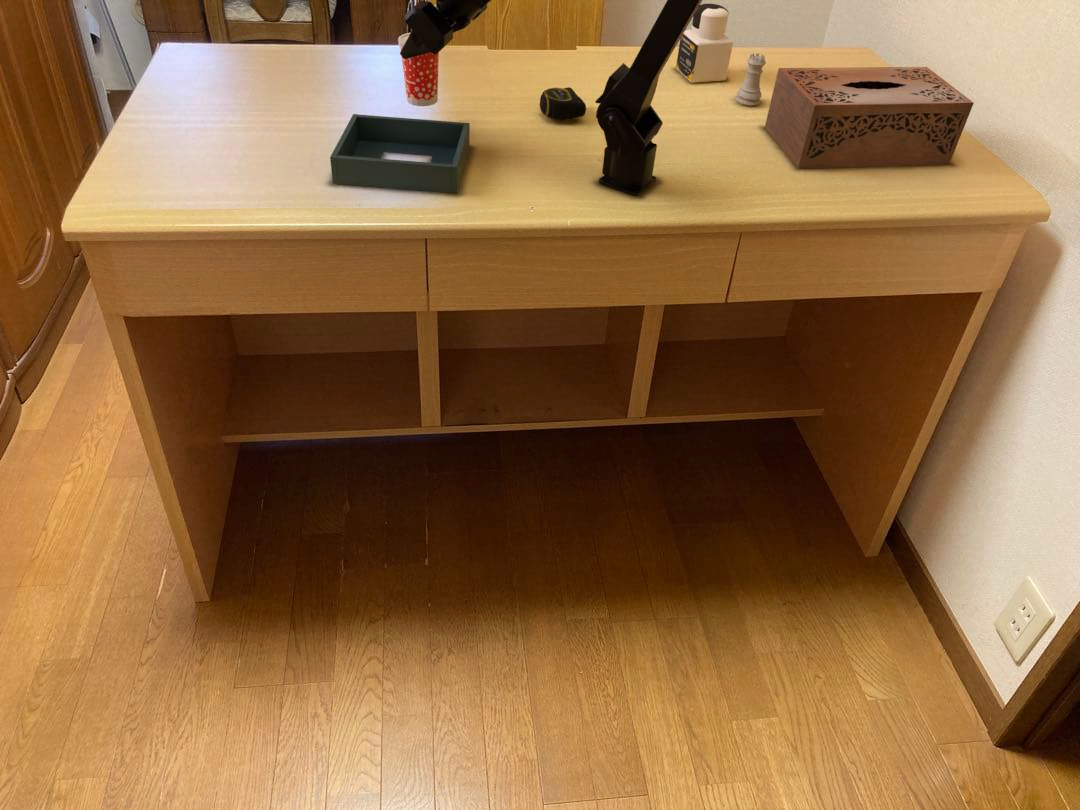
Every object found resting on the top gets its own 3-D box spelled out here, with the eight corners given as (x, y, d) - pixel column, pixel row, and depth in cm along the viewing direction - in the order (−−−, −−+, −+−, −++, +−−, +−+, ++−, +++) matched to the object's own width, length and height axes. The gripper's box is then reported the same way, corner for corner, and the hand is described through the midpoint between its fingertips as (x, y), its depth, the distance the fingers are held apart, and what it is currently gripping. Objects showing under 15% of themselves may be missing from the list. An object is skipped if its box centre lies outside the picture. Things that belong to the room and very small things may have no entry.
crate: (469, 147, 133) (469, 122, 130) (457, 193, 122) (457, 167, 119) (355, 139, 133) (353, 113, 130) (332, 183, 122) (329, 157, 119)
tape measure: (586, 123, 142) (588, 100, 139) (546, 126, 140) (548, 103, 137) (572, 106, 146) (574, 84, 144) (533, 109, 145) (535, 86, 142)
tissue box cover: (797, 168, 133) (814, 105, 127) (764, 128, 144) (778, 68, 137) (949, 164, 137) (973, 102, 131) (906, 125, 148) (926, 66, 141)
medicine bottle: (675, 68, 162) (685, 1, 154) (709, 66, 164) (721, -1, 156) (690, 83, 157) (702, 14, 149) (726, 80, 159) (739, 12, 151)
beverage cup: (400, 92, 132) (394, -5, 123) (440, 91, 133) (437, -5, 124) (403, 109, 128) (396, 9, 119) (444, 107, 129) (441, 8, 120)
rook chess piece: (765, 105, 151) (776, 59, 146) (743, 108, 150) (753, 61, 144) (751, 95, 154) (761, 50, 149) (730, 98, 153) (739, 52, 147)
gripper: (465, -91, 121) (397, -16, 130) (414, -59, 107) (342, 22, 116) (518, -23, 124) (448, 45, 134) (475, 16, 111) (400, 89, 120)
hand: (411, 48), depth 126 cm, fingers closed on beverage cup, 6 cm apart
